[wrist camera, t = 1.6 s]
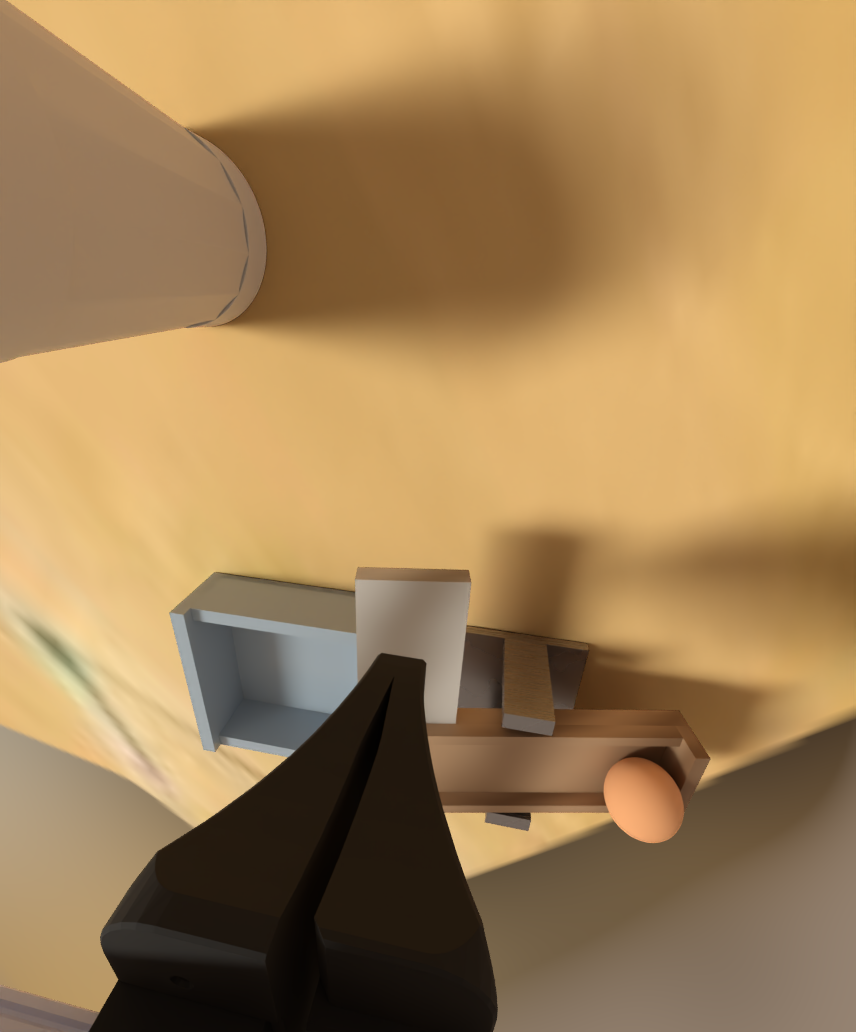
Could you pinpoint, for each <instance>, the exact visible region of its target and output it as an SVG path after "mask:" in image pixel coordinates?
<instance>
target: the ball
mask: <svg viewBox="0 0 856 1032" xmlns="http://www.w3.org/2000/svg"><path fill="white" fill-rule="evenodd" d="M604 798H605V803H606V806H607V808H608V811H609V813H610V815H611V817H612V818H613V820H614V821H615V822H616V824H617V825H618V826H619V827H620V828H621V829H622V830H623V831H624V832H626V833H627V834H628V835H630V836H632V837H633V838H635V839H637V840H640V841H643V842H648V843H659V842H663V841H666V840H668V839H670V838H671V837H672V836H673V835H675V834H676V832H677V831H678V829H679V828H680V826H681V823H682V821H683V815H684V805H683V800H682V796H681V793H680V790H679V788H678V786H677V785H676V783H675V781H674V780H673V778H672V777H671V776H670V775H669V774H668V773H667V772H666V771H665V770H664V769H663V768H662V767H660V766H659V765H657V764H656V763H654V762H652V761H650V760H647V759H644V758H638V757H630V758H625V759H622V760H620V761H618V762H617V763H615V764H614V765H613V766H612V767H611V768H610V770H609V771H608V773H607V775H606V778H605V782H604Z"/></svg>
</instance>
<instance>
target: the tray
mask: <svg viewBox="0 0 856 1032" xmlns="http://www.w3.org/2000/svg"><path fill="white" fill-rule="evenodd" d="M170 617H171V621H172V625H173V629H174V633H175V637H176V641H177V645H178V649H179V653H180V657H181V661H182V665H183V669H184V673H185V677H186V681H187V685H188V689H189V693H190V697H191V701H192V705H193V709H194V713H195V717H196V721H197V725H198V729H199V733H200V737H201V741H202V745H203V749H204V750H207V751H212V752H216V750H217V749H218V747H219V746H220V744H223V745H228V746H233V747H238V748H243V749H249V750H254V751H259V752H264V753H269V754H274V755H280V756H285V757H289V756H290V755H291V754H292V753H293V752H294V751H296V750H297V749H298V748H299V747H300V746H301V745H302V744H303V743H304V742H305V741H306V740H307V739H308V738H309V737H310V736H311V735H312V734H313V733H314V732H315V731H316V730H317V729H318V728H319V727H320V726H321V725H322V724H323V723H324V722H325V721H326V719H327V718H328V717H329V716H330V715H331V714H332V713H333V712H334V711H335V710H336V709H337V708H338V706H339V705H340V704H341V703H342V702H343V700H344V699H345V698H346V697H347V696H348V694H349V693H350V692H351V691H352V690H353V689H354V687H355V686H356V685H357V683H358V679H357V638H356V596H355V592H350V591H343V590H336V589H329V588H322V587H315V586H307V585H300V584H293V583H286V582H279V581H272V580H265V579H258V578H251V577H244V576H237V575H230V574H222V573H215V572H214V573H213V574H212V575H211V576H210V577H209V578H208V579H206V580H205V581H204V582H203V583H202V584H201V585H200V586H199V587H198V588H196V589H195V590H194V591H193V592H192V593H191V594H190V595H189V596H187V597H186V598H185V599H184V600H183V601H182V602H181V603H180V604H178V605H177V606H176V607H175V608H174V609H173V610H172V611H171V612H170Z"/></svg>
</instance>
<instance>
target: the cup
mask: <svg viewBox="0 0 856 1032" xmlns="http://www.w3.org/2000/svg"><path fill="white" fill-rule="evenodd" d="M266 254H267V247H266V235H265V228H264V223H263V219H262V215H261V212H260V209H259V206H258V203H257V201H256V198H255V196H254V194H253V192H252V190H251V188H250V186H249V184H248V182H247V181H246V179H245V177H244V176H243V174H242V173H241V172H240V170H239V169H238V168H237V166H236V165H235V164H234V163H233V162H232V161H231V159H230V158H229V157H228V156H227V155H226V154H225V153H223V152H222V151H221V150H220V149H219V148H217V147H216V146H215V145H213V144H212V143H210V142H209V141H207V140H205V139H204V138H202V137H200V136H198V135H197V134H195V133H193V132H191V131H190V130H188V129H186V128H184V127H182V126H181V125H180V124H178V123H177V122H175V121H174V120H173V119H171V118H170V117H169V116H167V115H166V114H164V113H163V112H162V111H160V110H159V109H157V108H156V107H155V106H153V105H152V104H150V103H149V102H148V101H146V100H145V99H143V98H142V97H141V96H139V95H138V94H136V93H135V92H134V91H132V90H131V89H129V88H128V87H127V86H125V85H124V84H122V83H121V82H120V81H118V80H117V79H115V78H114V77H113V76H111V75H110V74H108V73H107V72H106V71H104V70H103V69H101V68H100V67H99V66H97V65H96V64H94V63H93V62H92V61H90V60H89V59H87V58H86V57H85V56H83V55H82V54H80V53H79V52H78V51H76V50H75V49H73V48H72V47H71V46H69V45H68V44H66V43H65V42H64V41H62V40H61V39H59V38H58V37H57V36H55V35H54V34H52V33H51V32H50V31H48V30H47V29H45V28H44V27H43V26H41V25H40V24H38V23H37V22H36V21H34V20H33V19H31V18H30V17H29V16H27V15H26V14H24V13H23V12H22V11H20V10H19V9H17V8H16V7H15V6H13V5H12V4H10V3H9V2H8V1H6V0H0V363H1V362H6V361H9V360H12V359H15V358H17V357H21V356H27V355H33V354H38V353H44V352H50V351H55V350H61V349H66V348H72V347H78V346H83V345H89V344H95V343H100V342H106V341H112V340H117V339H123V338H129V337H134V336H140V335H146V334H151V333H157V332H162V331H168V330H174V329H179V328H192V327H210V326H217V325H222V324H225V323H227V322H229V321H231V320H233V319H235V318H236V317H238V316H239V315H240V314H242V313H243V312H244V311H245V310H246V309H247V308H248V307H249V305H250V304H251V303H252V301H253V300H254V298H255V296H256V295H257V293H258V290H259V288H260V286H261V283H262V280H263V276H264V272H265V266H266Z"/></svg>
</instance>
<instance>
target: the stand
mask: <svg viewBox="0 0 856 1032" xmlns="http://www.w3.org/2000/svg"><path fill="white" fill-rule="evenodd" d="M588 652H589V649H588V645H587V643H580V642H573V641H566V640H560V639H553V638H546V637H539V636H532V635H525V634H519V633H512V632H505V631H498V630H491V629H484V628H478V627H471V626H466V634H465V643H464V652H463V661H462V670H461V679H460V688H459V697H458V706H457V708H502V727H503V728H509V729H515V730H520V731H526V732H532V733H538V734H544V735H549V736H552V734H553V730H554V726H555V714H554V709H573V708H574V704H575V700H576V697H577V693H578V689H579V686H580V682H581V678H582V675H583V671H584V667H585V663H586V660H587V656H588ZM485 822H486V823H491V824H496V825H501V826H506V827H511V828H516V829H521V830H526V831H528V830H529V826H530V822H531V813H485Z"/></svg>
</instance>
